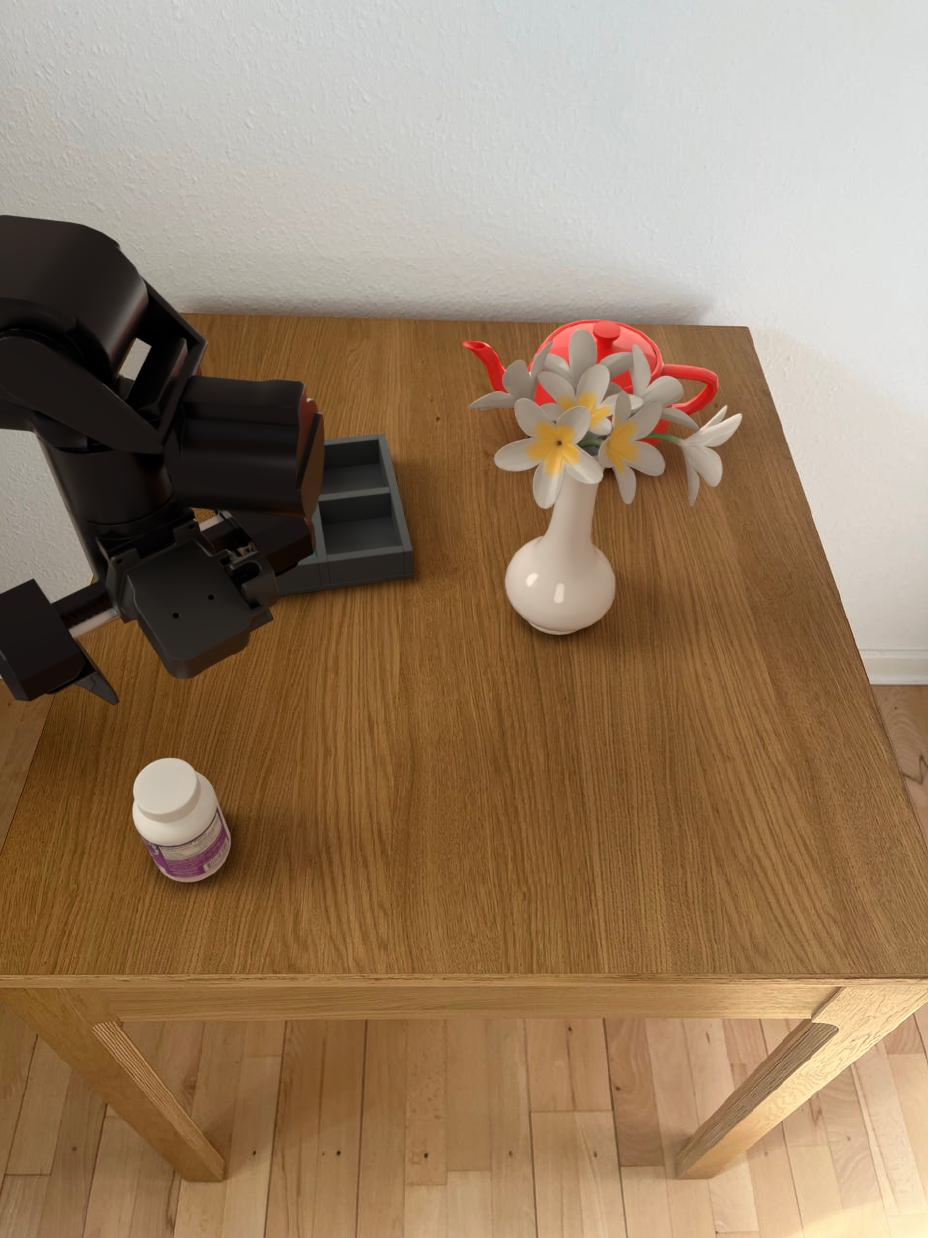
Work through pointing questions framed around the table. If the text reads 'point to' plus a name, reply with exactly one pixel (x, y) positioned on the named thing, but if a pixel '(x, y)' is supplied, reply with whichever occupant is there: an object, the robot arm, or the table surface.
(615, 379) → the teapot
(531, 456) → the flower vase
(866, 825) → the table surface
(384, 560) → the compartment tray
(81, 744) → the table surface
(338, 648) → the table surface
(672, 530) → the table surface
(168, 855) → the pill bottle
